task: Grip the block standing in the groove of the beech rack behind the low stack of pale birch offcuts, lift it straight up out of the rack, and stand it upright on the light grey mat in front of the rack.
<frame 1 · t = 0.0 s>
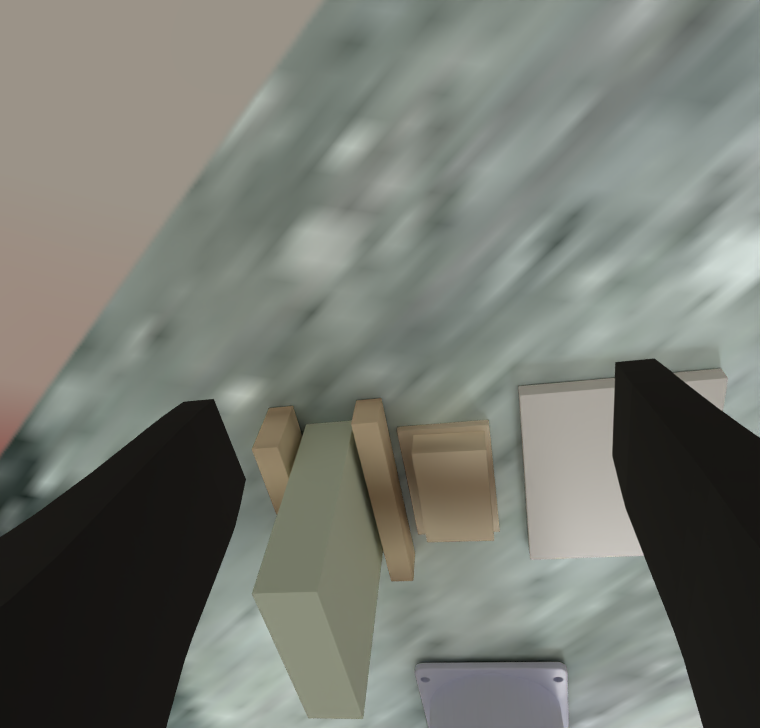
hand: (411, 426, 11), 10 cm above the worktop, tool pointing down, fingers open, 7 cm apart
offcut lower: (451, 465, 26), on the worktop, touching offcut upper
rack: (347, 486, 26), on the worktop
block: (347, 485, 26), on the worktop
offcut upper: (454, 479, 25), resting on offcut lower
mat: (613, 469, 24), on the worktop
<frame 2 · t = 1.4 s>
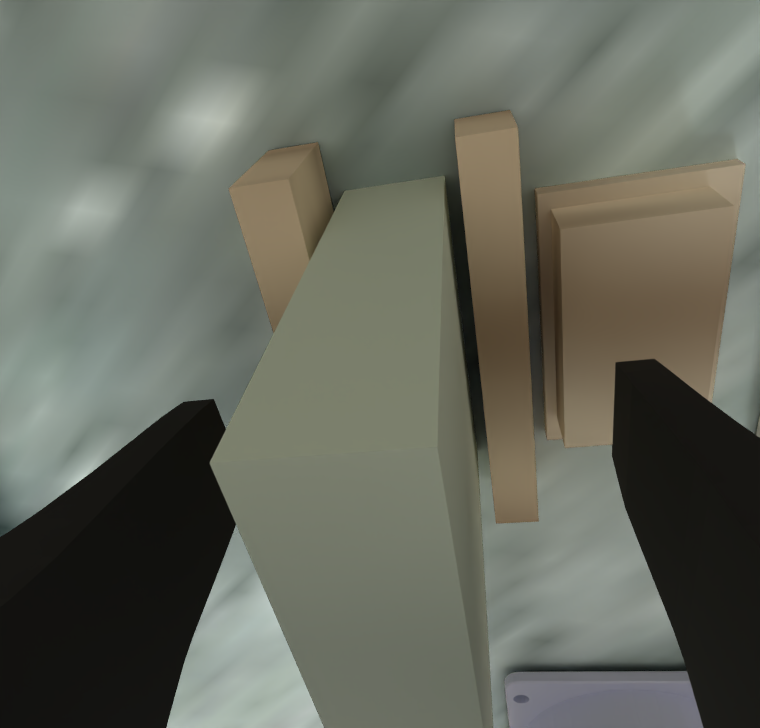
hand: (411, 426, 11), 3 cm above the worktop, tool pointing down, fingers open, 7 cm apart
offcut lower: (618, 299, 13), on the worktop
rack: (418, 337, 13), on the worktop
block: (419, 336, 14), on the worktop
offcut upper: (623, 316, 12), resting on offcut lower
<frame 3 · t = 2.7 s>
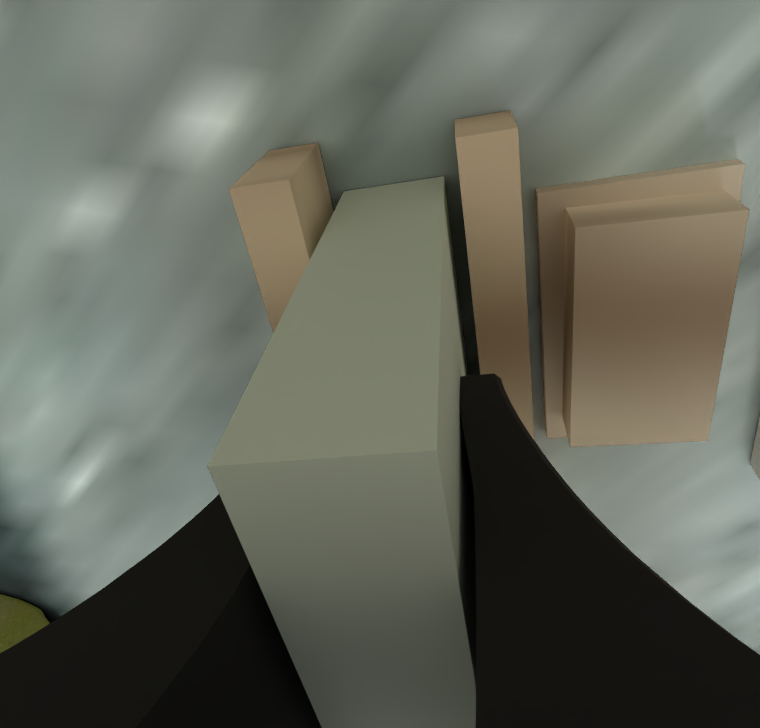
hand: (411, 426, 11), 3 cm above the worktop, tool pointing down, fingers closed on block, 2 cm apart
offcut lower: (618, 298, 13), on the worktop, touching offcut upper
rack: (418, 337, 13), on the worktop
block: (418, 337, 13), on the worktop, touching gripper
offcut upper: (633, 317, 12), resting on offcut lower
plant pot: (13, 631, 22), on the worktop
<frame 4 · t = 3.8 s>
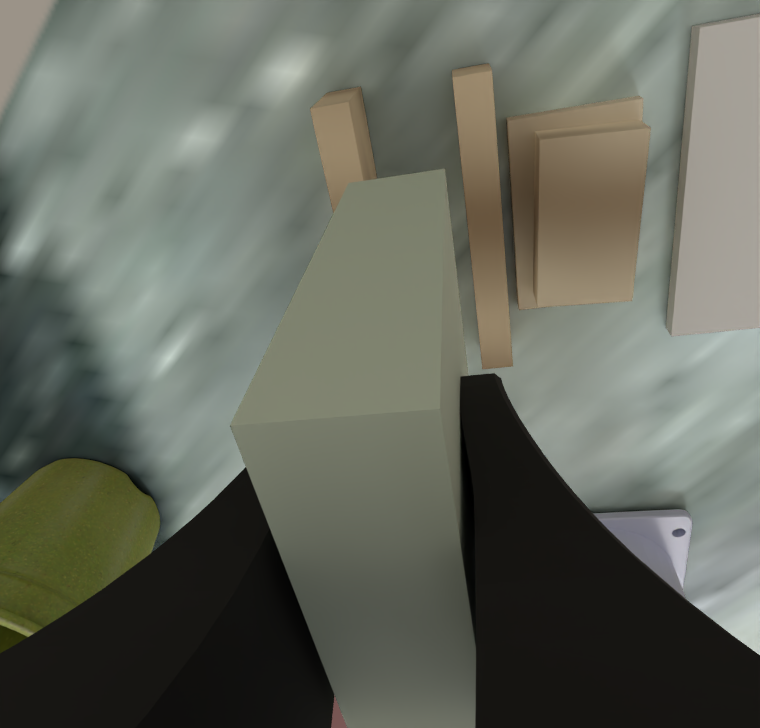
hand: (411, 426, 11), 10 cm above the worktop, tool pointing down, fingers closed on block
offcut lower: (568, 203, 19), on the worktop, touching offcut upper
rack: (427, 230, 19), on the worktop
block: (419, 324, 14), point 6 cm above the worktop, touching gripper
offcut upper: (581, 213, 18), resting on offcut lower
plant pot: (100, 500, 28), on the worktop
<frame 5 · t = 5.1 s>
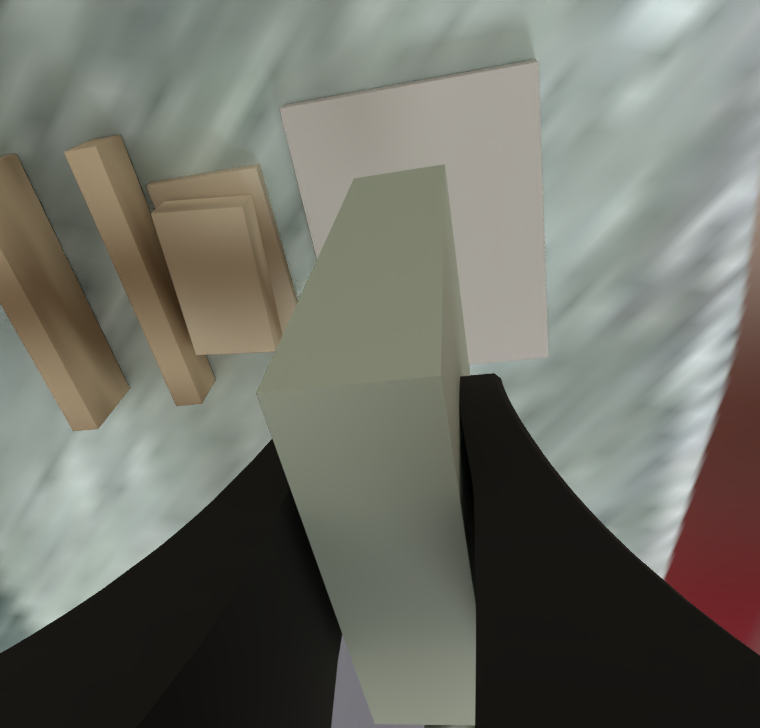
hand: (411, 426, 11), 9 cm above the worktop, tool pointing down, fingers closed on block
offcut lower: (240, 254, 21), on the worktop, touching offcut upper
rack: (112, 279, 21), on the worktop
block: (421, 312, 15), point 5 cm above the worktop, touching gripper
offcut upper: (227, 272, 20), resting on offcut lower
mat: (427, 237, 19), on the worktop
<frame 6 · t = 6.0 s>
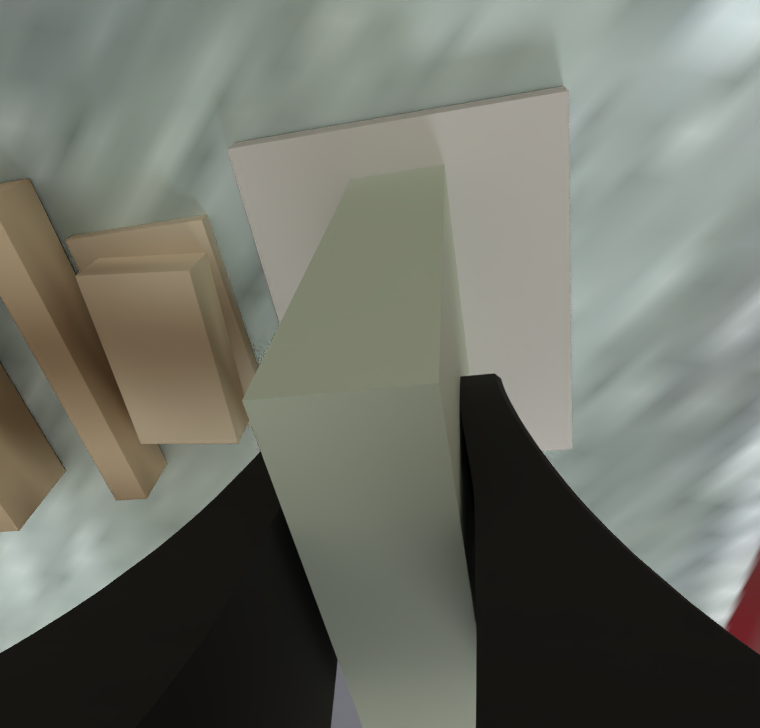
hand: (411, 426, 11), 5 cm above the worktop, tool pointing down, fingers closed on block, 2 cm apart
offcut lower: (191, 319, 17), on the worktop, touching offcut upper
rack: (34, 349, 17), on the worktop
block: (420, 317, 14), point 1 cm above the worktop, touching gripper, mat
offcut upper: (179, 343, 16), resting on offcut lower
mat: (421, 305, 15), on the worktop
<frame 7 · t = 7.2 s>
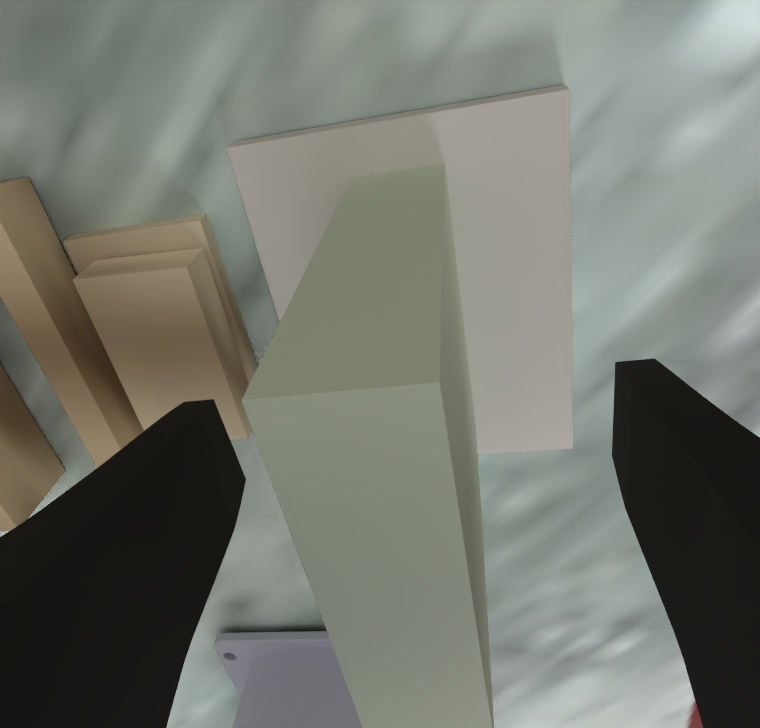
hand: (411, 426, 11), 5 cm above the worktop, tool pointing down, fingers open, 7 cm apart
offcut lower: (190, 318, 17), on the worktop
rack: (34, 349, 17), on the worktop
block: (420, 316, 14), point 1 cm above the worktop, touching mat
offcut upper: (182, 342, 16), resting on offcut lower
mat: (421, 304, 15), on the worktop
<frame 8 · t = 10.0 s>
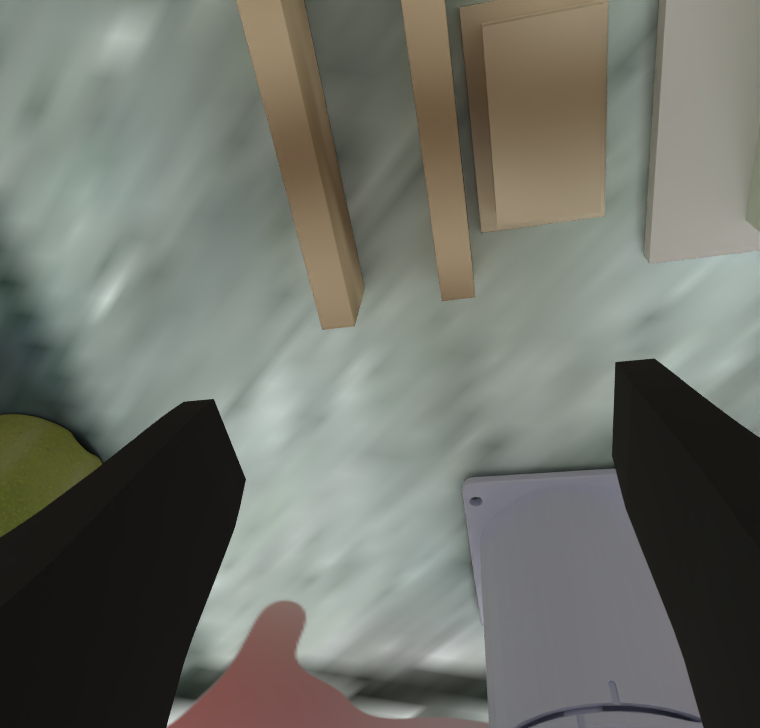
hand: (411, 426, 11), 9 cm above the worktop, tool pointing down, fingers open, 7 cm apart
offcut lower: (533, 112, 17), on the worktop, touching offcut upper
rack: (378, 144, 17), on the worktop
offcut upper: (540, 117, 16), resting on offcut lower
plant pot: (45, 462, 26), on the worktop
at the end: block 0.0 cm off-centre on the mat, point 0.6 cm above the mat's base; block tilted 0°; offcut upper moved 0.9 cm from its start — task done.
